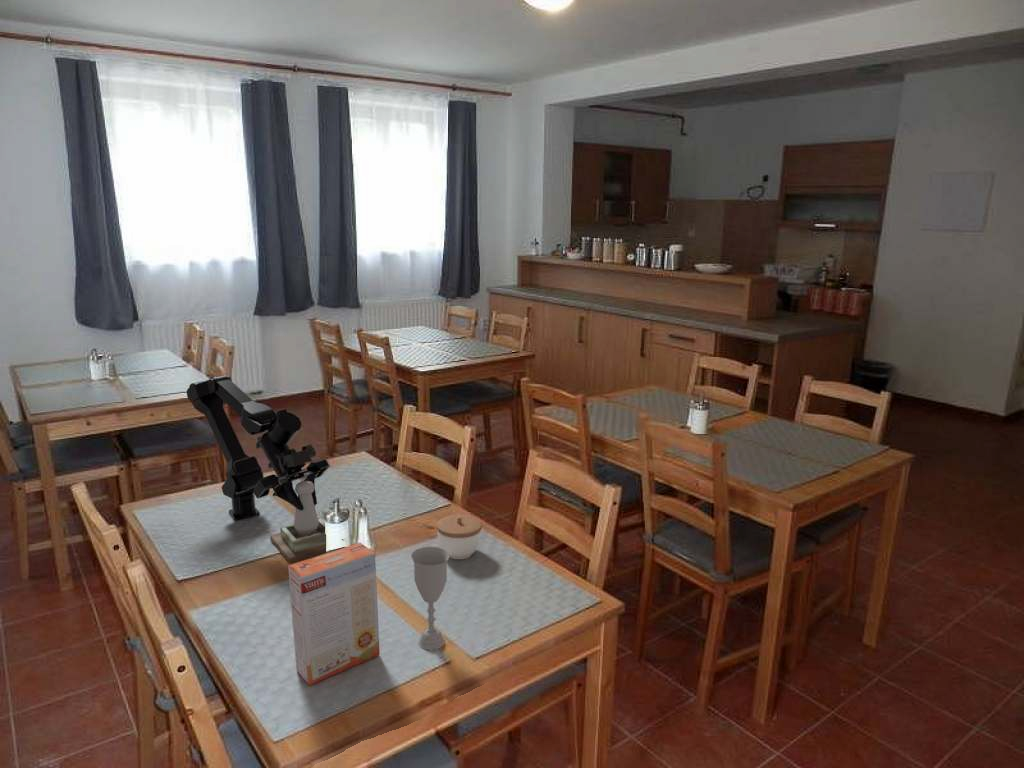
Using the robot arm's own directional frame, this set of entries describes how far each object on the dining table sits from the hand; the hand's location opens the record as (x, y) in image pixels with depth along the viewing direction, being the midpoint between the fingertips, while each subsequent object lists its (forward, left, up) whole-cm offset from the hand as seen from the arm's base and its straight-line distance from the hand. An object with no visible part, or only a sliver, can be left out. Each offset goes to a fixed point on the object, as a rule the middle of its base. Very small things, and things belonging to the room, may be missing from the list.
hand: (309, 507), depth 167 cm
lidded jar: (+24, +28, -10) cm, 38 cm away
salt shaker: (-1, -1, -7) cm, 7 cm away
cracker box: (+47, -12, -10) cm, 49 cm away
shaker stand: (-1, 0, -10) cm, 10 cm away
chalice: (+51, +5, -10) cm, 52 cm away
